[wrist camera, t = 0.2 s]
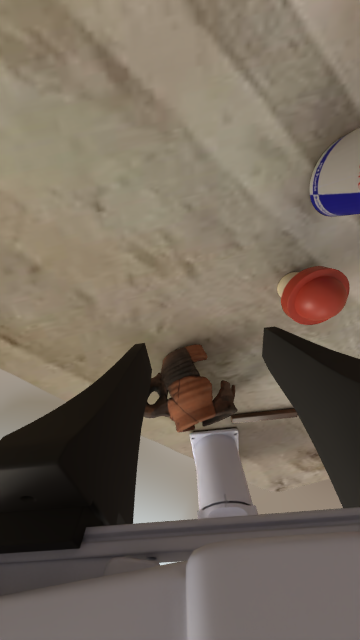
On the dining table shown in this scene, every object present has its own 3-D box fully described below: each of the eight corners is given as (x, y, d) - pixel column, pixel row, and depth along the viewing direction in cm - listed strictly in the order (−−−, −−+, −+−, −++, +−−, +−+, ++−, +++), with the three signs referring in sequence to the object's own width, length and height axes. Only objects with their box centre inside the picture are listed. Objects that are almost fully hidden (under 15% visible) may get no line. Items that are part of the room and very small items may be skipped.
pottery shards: (223, 333, 23) (257, 401, 18) (209, 365, 30) (231, 419, 25) (124, 355, 20) (134, 440, 15) (136, 384, 28) (145, 447, 23)
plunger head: (311, 304, 21) (359, 330, 15) (265, 311, 21) (295, 338, 16) (320, 257, 18) (379, 267, 13) (268, 265, 19) (305, 278, 13)
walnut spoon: (318, 415, 29) (322, 421, 28) (231, 424, 30) (232, 430, 29) (322, 399, 27) (327, 405, 27) (230, 409, 28) (232, 415, 27)
